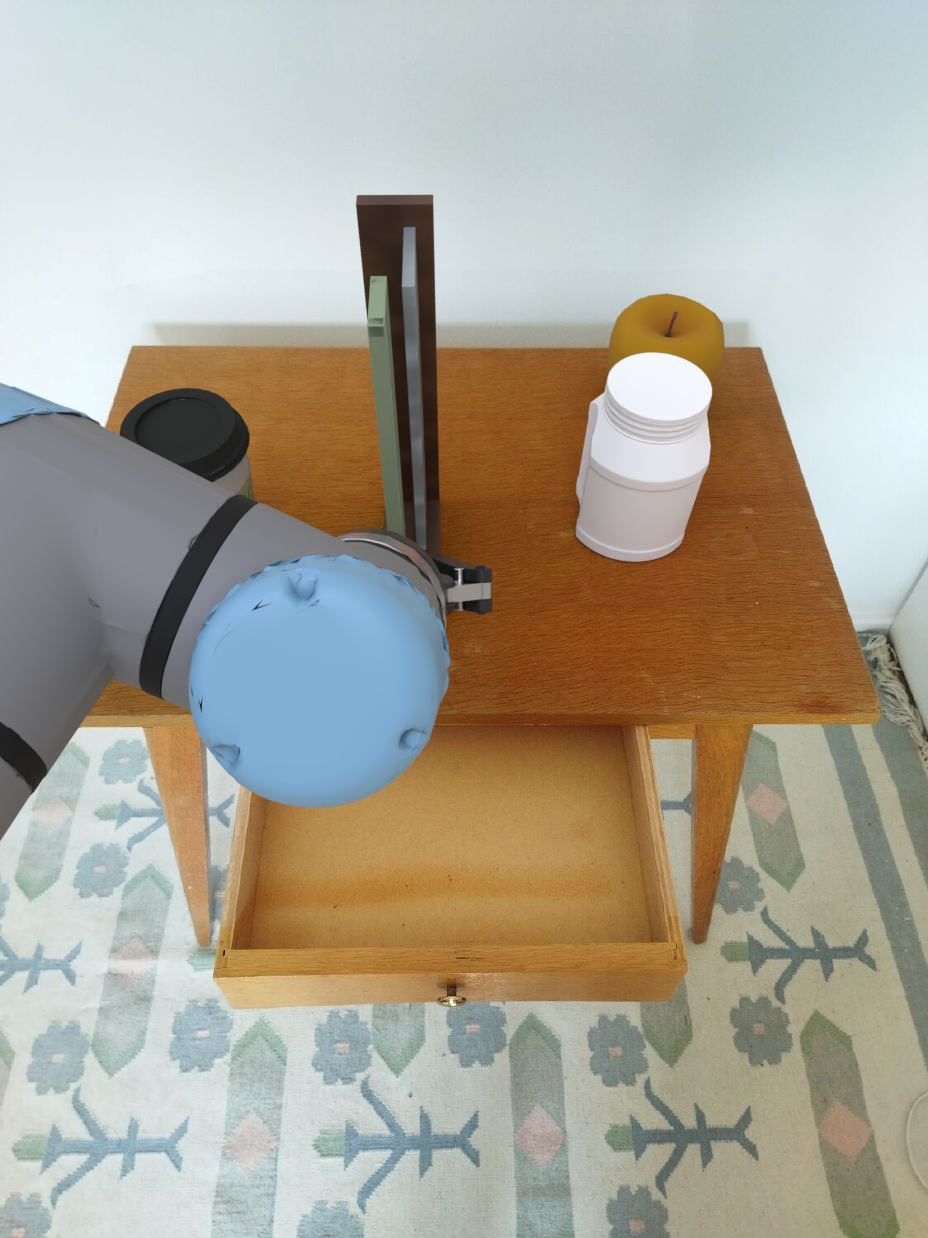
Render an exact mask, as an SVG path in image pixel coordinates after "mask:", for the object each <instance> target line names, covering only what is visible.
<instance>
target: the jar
mask: <svg viewBox="0 0 928 1238" xmlns="http://www.w3.org/2000/svg"><path fill="white" fill-rule="evenodd" d="M712 396H713V388H712V386H711V383H710V381H709V379H708V377H707V376H706V375H705V373H704V372H703V371H702V370H701V369H700V368H698V367H697V366H696V365H694V364H693V363H691V362H689V361H687V360H685V359H683V358H680V357H677V356H674V355H670V354H664V353H641V354H636V355H632V356H629V357H627V358H624V359H623V360H621V361H619V362H618V363H617V364H616V365H615V366H614V367H613V368H612V369H611V370H610V372H609V373H608V376H607V378H606V383H605V388H604V392H603V393H601V394H600V395H599V396H597V397H596V398H595V399H593V400H592V401H590V403H589V407H588V419H587V425H586V431H585V435H584V436H585V437H584V442H583V448H582V454H581V460H580V466H579V472H578V476H577V478H576V485H575V494H576V496H577V498H578V503H579V511H578V517H577V519H576V524H575V537H576V538H577V539H578V540H579V541H580V543H582V544H583V545H584V546H585V547H587V548H588V549H590V550H591V551H593V552H595V553H597V554H598V555H601V556H603V557H605V558H609V559H612V560H615V561H622V562H629V563H641V562H649V561H653V560H657V559H660V558H663V557H665V556H667V555H669V554H671V553H672V552H674V551H676V549H677V548H679V547H680V546H681V545H682V543H683V540H684V537H685V532H686V529H687V525H688V522H689V519H690V516H691V514H692V511H693V508H694V506H695V501H696V499H697V497H698V493H699V490H700V487H701V484H702V481H703V479H704V475H705V474H706V472H707V470H708V467H709V464H710V457H711V445H712V444H711V438H710V428H709V420H708V411H709V408H710V404H711V401H712Z"/></svg>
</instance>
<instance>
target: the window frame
mask: <svg viewBox="0 0 928 1238" xmlns="http://www.w3.org/2000/svg"><path fill="white" fill-rule="evenodd" d="M434 208H435V207H434V194H356V199H355V209H356V221H357V229H358V241H359V249H360V261H361V271H362V279H363V280H362V281H363V290H364V292H363V293H364V302H365V311H366V321H367V322H368V307H369V292H370V277H371V276H387V285H388V300H389V313H390V327H391V341H392V354H393V368H394V382H395V395H396V409H397V423H398V436H399V450H400V464H401V477H402V491H403V505H404V518H405V532H406V537H407V538H409V539H410V540H412V541H413V542H415V543H416V544H418V545H419V546H420V547H421V548H422V549H423V550H424V551H425V552H426V553H427V554H428V555H431V554H432V553H440V554H441V499H440V497H441V496H440V454H439V453H440V452H439V447H440V446H439V445H440V444H439V407H438V406H439V405H438V404H439V403H438V399H439V398H438V358H437V352H438V351H437V307H436V305H437V304H436V261H435V217H434V216H435V215H434V213H435V212H434V211H435V210H434ZM383 520H384V521H383V530H388V529H387V519H386V509H385V508H384V519H383Z"/></svg>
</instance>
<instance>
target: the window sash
mask: <svg viewBox="0 0 928 1238" xmlns="http://www.w3.org/2000/svg"><path fill="white" fill-rule="evenodd" d="M366 327H367V328H366V329H367V338H368V347H369V356H370V366H371V378H372V389H373V399H374V408H375V418H376V427H377V428H376V429H377V438H378V447H379V457H380V468H381V477H382V488H383V497H384V510H385V509H386V519H387V529H388V531H392V532H395V533H398V534H401V535H403V536H405V537H406V532H405V518H404V505H403V491H402V477H401V464H400V450H399V436H398V423H397V409H396V395H395V382H394V368H393V354H392V341H391V327H390V313H389V300H388V285H387V276H371V277H370V292H369V307H368V322H367V324H366Z"/></svg>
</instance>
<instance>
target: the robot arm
mask: <svg viewBox="0 0 928 1238" xmlns="http://www.w3.org/2000/svg"><path fill="white" fill-rule="evenodd" d="M454 611H455V612H464V611H465V612H466V611H467V612H471V613H476V614H477V615H486V614H487V613H491V612H493V568H492V567H488V566H486V564H485V565H484V564H479V565H473V564H470V563H468V562H465V561H462V560H459V559H457V558H454V557H451V556H448V555H446V554H441V552H440V553H432V554H431V555H428V554H427V553H426V552H425V551H424V550H423V549H422V548H421V547H420V546H419V545H418V544H416V543H415V542H413V541H412V540H410V539H409V538H407V537H405V536H403V535H401V534H398V533H395V532H392V531H388V530H384V528H359V529H355V530H351V531H347V532H345V533H342V534H340V535H338V536H333V535H331V534H329V533H327V532H325V531H323V530H321V529H319V528H317V527H315V526H313V525H311V524H308V523H306V522H304V521H302V520H300V519H298V518H296V517H294V516H292V515H289V514H288V513H285V512H283V511H281V510H279V509H277V508H275V507H273V506H270V505H268V504H266V503H263V502H262V503H261V502H258V501H256V500H255V499H254V500H252V499H250V498H248V497H246V496H244V495H241V494H239V495H236V494H234V493H232V492H230V491H228V490H226V489H224V488H222V487H220V486H218V485H216V484H214V483H212V482H210V481H208V480H206V479H204V478H202V477H200V476H198V475H196V474H194V473H192V472H190V471H188V470H186V469H185V468H183V467H181V466H179V465H177V464H175V463H173V462H171V461H169V460H167V459H165V458H163V457H161V456H159V455H157V454H155V453H153V452H151V451H149V450H147V449H145V448H143V447H141V446H139V445H137V444H135V443H133V442H131V441H129V440H128V439H126V438H124V437H122V436H120V434H118V433H116V432H114V431H112V430H110V429H108V428H106V427H104V426H102V424H101V423H100V422H99V421H98V420H96V419H93V418H92V417H91V416H89V415H88V414H87V413H85V412H82V411H79V410H76V409H74V408H71V407H69V406H65V405H63V404H59V403H57V402H54V401H51V400H49V399H46V398H44V397H42V396H39V395H36V394H34V393H32V392H29V391H27V390H24V389H21V388H19V387H16V386H11V385H8V384H5V383H2V382H0V842H1V841H2V840H3V838H4V837H5V835H6V833H7V832H8V830H9V829H10V828H11V826H12V824H14V821H15V820H16V818H17V817H18V815H19V814H20V812H21V811H22V809H23V807H24V806H25V804H26V803H27V801H28V800H29V799H30V797H31V796H32V795H33V794H34V793H35V792H36V790H37V789H38V787H39V786H40V784H41V783H42V781H43V780H44V779H45V778H46V777H47V776H48V774H49V772H50V771H51V770H52V768H53V767H54V765H55V763H56V762H57V760H58V759H59V758H60V756H61V755H62V753H63V752H64V750H65V749H66V747H67V746H68V744H69V742H70V741H71V740H72V738H73V737H74V735H75V734H76V733H77V731H78V730H79V728H80V726H81V725H82V724H83V722H84V720H85V719H86V718H87V716H88V715H89V714H90V712H91V710H92V709H93V708H94V706H95V705H96V703H97V701H99V699H100V698H101V695H102V694H103V693H104V691H106V688H107V687H108V686H109V685H110V684H112V682H113V681H114V682H117V683H121V684H123V685H127V686H131V687H133V688H136V689H139V690H140V691H142V692H144V693H146V694H148V695H151V696H153V697H155V698H158V699H159V700H162V701H164V702H168V703H170V704H172V705H174V706H176V707H179V708H181V709H183V710H185V711H188V712H190V713H191V717H192V720H193V723H194V726H195V729H196V731H197V734H198V735H199V738H200V741H201V742H202V743H203V745H204V746H205V747H206V748H207V749H208V751H209V752H210V753H211V755H213V756H212V757H214V759H215V760H216V761H217V763H218V764H219V765H220V766H221V767H222V769H224V771H225V772H226V773H227V774H228V775H229V776H230V777H231V778H233V779H234V781H235V783H238V784H239V785H240V786H242V788H244V789H246V790H247V791H249V792H251V793H253V794H255V795H257V796H258V797H261V798H263V799H265V800H268V801H270V802H274V803H278V804H281V805H285V806H290V807H291V806H292V807H298V808H309V809H325V808H333V807H340V806H345V805H349V804H353V803H355V802H358V801H361V800H364V799H366V798H368V797H370V796H372V795H374V794H376V793H379V792H380V791H382V790H384V789H386V787H388V786H389V785H390V784H392V783H393V782H395V781H396V780H398V778H400V777H401V775H402V774H404V773H405V772H406V771H407V770H408V769H409V768H410V767H411V766H412V765H413V763H414V762H415V761H416V760H417V758H418V757H419V756H420V754H421V753H422V751H423V750H424V748H425V746H426V745H427V744H428V743H429V742H430V740H431V738H432V737H431V736H432V732H433V729H434V726H435V723H436V720H437V716H438V713H439V709H440V704H441V703H442V701H443V698H444V697H445V695H446V693H447V691H448V688H449V684H450V676H449V672H448V669H449V668H450V667H451V665H452V663H451V657H450V651H449V650H450V649H449V648H450V647H449V640H448V638H447V637H448V636H447V633H446V628H447V616H449V615H451V614H452V613H453V612H454Z"/></svg>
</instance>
